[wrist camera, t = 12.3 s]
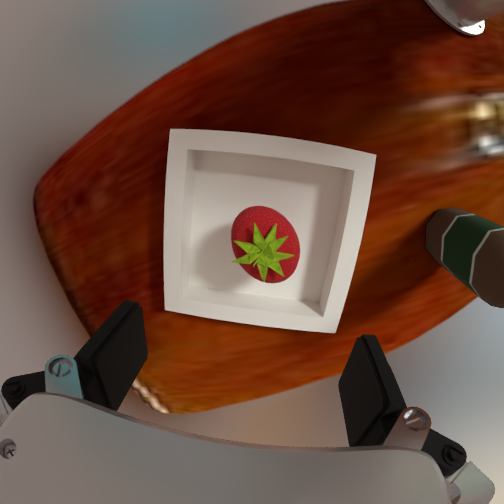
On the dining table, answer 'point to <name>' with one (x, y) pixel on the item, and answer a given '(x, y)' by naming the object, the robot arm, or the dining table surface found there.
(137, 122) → the dining table surface
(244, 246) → the strawberry
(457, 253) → the beer bottle
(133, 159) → the dining table surface
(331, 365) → the dining table surface
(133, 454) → the robot arm
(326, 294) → the tray
